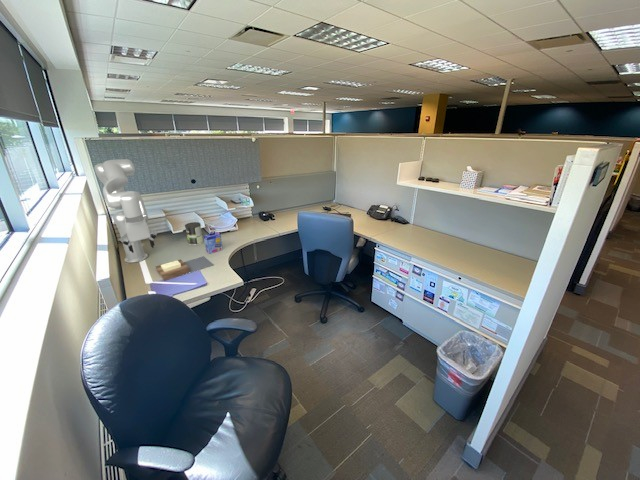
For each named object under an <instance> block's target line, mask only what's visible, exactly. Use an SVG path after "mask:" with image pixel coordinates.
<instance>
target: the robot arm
mask: <svg viewBox="0 0 640 480" xmlns="http://www.w3.org/2000/svg"><path fill="white" fill-rule="evenodd" d="M93 169H94V172H95V175H96V176H97V178H98V180H99V181H100V182H101V183H102V185H103V188H102V194H103V197H104V199H105V202H106V204H107V206H108V207H109V208H111V209H115V210H121V211H117V212H115V213H114V214H113V216H112V219H113V221H114V223H115V225H116V227H117V230H118V234H119V235H120V238H118V240H119V241H120V242H121V243H122V246H123V249H124V252H125V258H124V262H125V263H129V264H131V263H133V264H134V263H138V262H141V261H144V260H147V258H148V253H146V252H145V251H144V247H143V244H142V240H146V239H149V243H150V247H151V248H152V249H154V248H155V241H154V240H155V238H156V237H157V235H158V231H157V230H155V229H150V228H149V225H148V222H149V215H148V214H149V213H148V211H147V208H146V205H145V203H144V200H143V197H142V195H141V193H140V192H139V191H135V190H129V191H125V188H124V187H126V186H127V185H128V182H129V179H128V177H129V176H130V177H131V176H133V175H134V174H135V172H136V168H135V165H134V163H133V162H132V160H131V159H128V158H121V159H120V158H118V159H108V160H105V161H103V162H101V163H97V164H95V165H94V168H93ZM151 233H152V234H151Z"/></svg>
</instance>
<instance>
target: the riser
mask: <svg viewBox="0 0 640 480" xmlns="http://www.w3.org/2000/svg"><path fill="white" fill-rule="evenodd" d="M175 261H178V262H179V263H180V264H181V267H179V268H176V269H173V270H169V271H166V272H164V271H163V269H162V268H161V265H162V264H160V265H156V266H155V270H156V273H158V275H159V276H160V277H161V279H162V281H164V282H165V281H168V280H171V278H172V279H175V278H178V277H181V276H184V275H186V273H187V274H190V273H189V272H190V269H189V267H188V266H187V265H186V264H185V263H184V262H185V261H183V260H182V259H177V260H175ZM170 262H171V261H170ZM170 262H168V263H170ZM183 274H184V275H183Z"/></svg>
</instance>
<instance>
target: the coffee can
mask: <svg viewBox="0 0 640 480" xmlns="http://www.w3.org/2000/svg"><path fill="white" fill-rule="evenodd" d="M184 228H185V233H186V238H187V245H190V246H198V245H201V244H203V243H204V236H203V233H202V227H201V223H200V222H198V221H197V222H196V221H195V222H194V221H192V222H188V223H186V224H184Z"/></svg>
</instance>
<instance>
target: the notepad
mask: <svg viewBox="0 0 640 480" xmlns="http://www.w3.org/2000/svg"><path fill="white" fill-rule="evenodd" d="M160 265H161V268H162V269H163V271H164V272H166V271H169V270H173V269H176V268H179V267H181V264H180V263H179V262H178V261H176V260H173V261H170V263H169V262H167V263H163V264H160Z"/></svg>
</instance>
